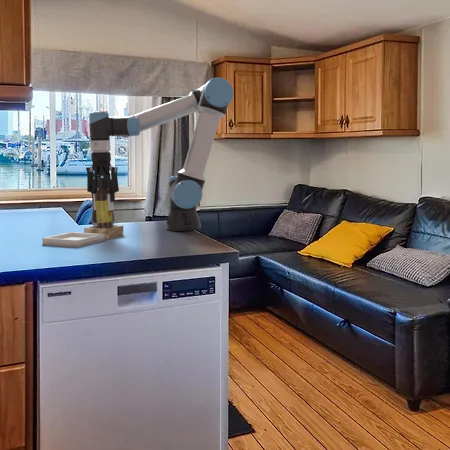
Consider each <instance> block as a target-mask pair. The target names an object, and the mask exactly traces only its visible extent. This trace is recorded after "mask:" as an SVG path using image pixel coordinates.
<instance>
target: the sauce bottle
mask: <svg viewBox="0 0 450 450" xmlns="http://www.w3.org/2000/svg"><path fill="white" fill-rule="evenodd" d="M97 181H98V190H97V193H96V218H97V227H99V228H102V227H111V226H112V225H113V224H112V222H113V218H112V210H108V195H107V194H108V193H109V191H108V188H107V185H106V182H105V178H104V177H103V176H101V177H98V178H97Z"/></svg>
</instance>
